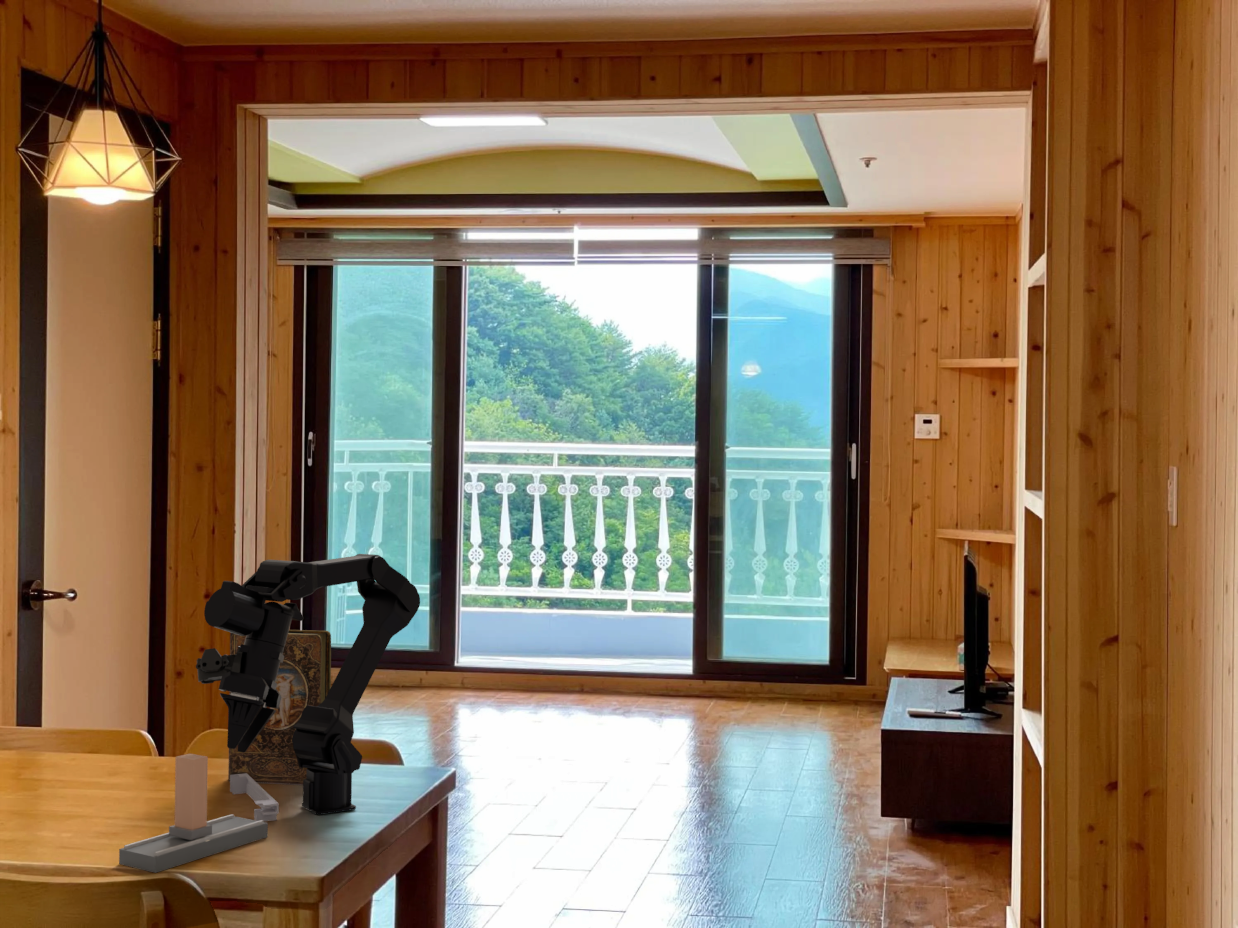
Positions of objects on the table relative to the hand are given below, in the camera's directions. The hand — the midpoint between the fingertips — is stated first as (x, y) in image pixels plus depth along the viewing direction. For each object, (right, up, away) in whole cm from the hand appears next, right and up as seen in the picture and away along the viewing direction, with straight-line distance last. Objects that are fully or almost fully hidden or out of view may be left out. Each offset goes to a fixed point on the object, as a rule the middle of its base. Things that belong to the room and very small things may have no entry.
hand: (236, 750), depth 193 cm
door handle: (-2, -13, +17) cm, 21 cm away
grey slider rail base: (-4, -12, -7) cm, 15 cm away
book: (-3, -12, +34) cm, 36 cm away
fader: (-4, -10, -8) cm, 13 cm away
